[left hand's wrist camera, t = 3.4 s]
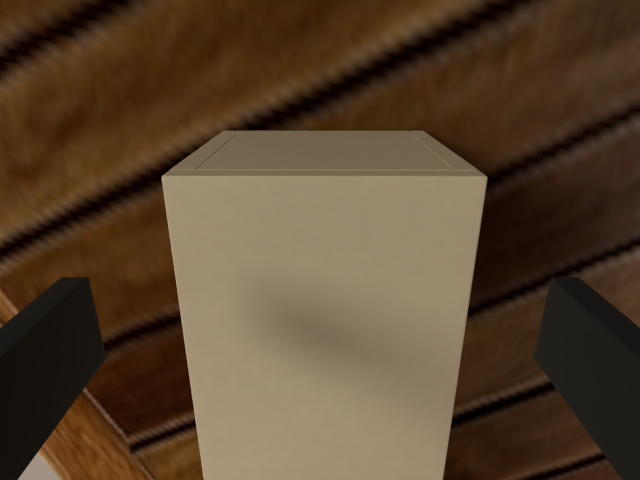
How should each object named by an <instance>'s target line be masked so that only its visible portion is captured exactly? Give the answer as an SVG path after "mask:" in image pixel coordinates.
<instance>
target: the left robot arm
mask: <svg viewBox="0 0 640 480" xmlns="http://www.w3.org/2000/svg"><path fill="white" fill-rule="evenodd" d="M105 359H106V355H105V350H104V346H103V341H102V336H101V332H100V327H99V323H98V318H97V314H96V309H95V304H94V300H93V295H92V291H91V286H90V281H89V277H61V278H60V279H59V280H58V281H57V282H55V283H54V284H53V285H52V286H50V287H49V288H48V289H47V290H46V291H44V292H43V293H42V294H41V295H40V296H38V297H37V298H36V299H35V300H34V301H32V302H31V303H30V304H29V305H27V306H26V307H25V308H24V309H23V310H21V311H20V312H19V313H18V314H17V315H15V316H14V317H13V318H12V319H11V320H9V321H8V322H7V323H6V324H4V325H3V326H2V327H1V328H0V480H18V478H19V477H20V476H21V474H22V473H23V471H24V470H25V469H26V467H27V466H28V465H29V463H30V462H31V461H32V459H33V458H34V456H35V455H36V454H37V452H38V451H39V450H40V448H41V447H42V445H43V444H44V443H45V441H46V440H47V439H48V437H49V436H50V434H51V433H52V432H53V430H54V429H55V428H56V426H57V425H58V423H59V422H60V421H61V419H62V418H63V417H64V415H65V414H66V412H67V411H68V410H69V408H70V407H71V406H72V404H73V403H74V401H75V400H76V399H77V397H78V396H79V395H80V393H81V392H82V390H83V389H84V388H85V386H86V385H87V384H88V382H89V381H90V379H91V378H92V377H93V375H94V374H95V373H96V371H97V370H98V368H99V367H100V366H101V364H102V363H103V362H104V360H105ZM534 359H535V360H536V362H537V363H538V364H539V366H540V367H541V368H542V370H543V371H544V373H545V374H546V375H547V377H548V378H549V379H550V381H551V382H552V384H553V385H554V386H555V388H556V389H557V390H558V392H559V393H560V395H561V396H562V397H563V399H564V400H565V401H566V403H567V404H568V406H569V407H570V408H571V410H572V411H573V412H574V414H575V415H576V417H577V418H578V419H579V421H580V422H581V423H582V425H583V426H584V428H585V429H586V430H587V432H588V433H589V434H590V436H591V437H592V439H593V440H594V441H595V443H596V444H597V445H598V447H599V448H600V450H601V451H602V452H603V454H604V455H605V456H606V458H607V459H608V461H609V462H610V463H611V465H612V466H613V467H614V469H615V470H616V471H617V473H618V474H619V476H620V477H621V478H622V480H640V328H639V327H638V326H637V325H636V324H634V323H633V322H632V321H631V320H629V319H628V318H627V317H626V316H625V315H623V314H622V313H621V312H620V311H619V310H617V309H616V308H615V307H614V306H613V305H611V304H610V303H609V302H608V301H606V300H605V299H604V298H603V297H602V296H600V295H599V294H598V293H597V292H596V291H594V290H593V289H592V288H591V287H590V286H588V285H587V284H586V283H585V282H583V281H582V280H581V279H580V278H579V277H551V281H550V286H549V291H548V295H547V300H546V304H545V309H544V313H543V318H542V323H541V327H540V332H539V336H538V341H537V346H536V350H535V355H534Z"/></svg>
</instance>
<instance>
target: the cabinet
mask: <svg viewBox="0 0 640 480" xmlns="http://www.w3.org/2000/svg"><path fill="white" fill-rule="evenodd" d="M487 179H488V178H487V176H486V175H484V174H483V173H481V172H480V171H478V169H476V168H475V167H473V166H472V165H471V164H469V163H468V162H466V161H465V160H464V159H462V158H461V157H459V156H458V155H457V154H455V153H454V152H452V151H451V150H450V149H448V148H447V147H445V146H444V145H443V144H441V143H440V142H438V141H437V140H436V139H434V138H433V137H431V136H430V135H429V134H427V133H426V132H424V131H223V132H222V133H220V134H218V135H217V136H216V137H214V138H213V139H212V140H210V141H209V142H207V143H206V144H205V145H203V146H202V147H201V148H199V149H198V150H196V151H195V152H194V153H192V154H191V155H190V156H188V157H187V158H185V159H184V160H183V161H181V162H180V163H179V164H177V165H176V166H174V167H173V168H172V169H170V171H168V172H167V173H166V174H164V175H163V176H162V184H163V191H164V198H165V205H166V213H167V220H168V227H169V234H170V241H171V248H172V255H173V263H174V270H175V277H176V284H177V291H178V298H179V305H180V312H181V320H182V327H183V334H184V341H185V348H186V355H187V362H188V369H189V377H190V384H191V391H192V398H193V405H194V412H195V419H196V427H197V434H198V441H199V448H200V455H201V462H202V469H203V476H204V480H443V475H444V469H445V462H446V455H447V448H448V442H449V435H450V428H451V421H452V415H453V408H454V401H455V394H456V388H457V381H458V374H459V367H460V361H461V354H462V347H463V341H464V334H465V327H466V320H467V314H468V307H469V300H470V293H471V287H472V280H473V273H474V266H475V260H476V253H477V246H478V239H479V233H480V226H481V219H482V212H483V206H484V199H485V192H486V185H487Z"/></svg>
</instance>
